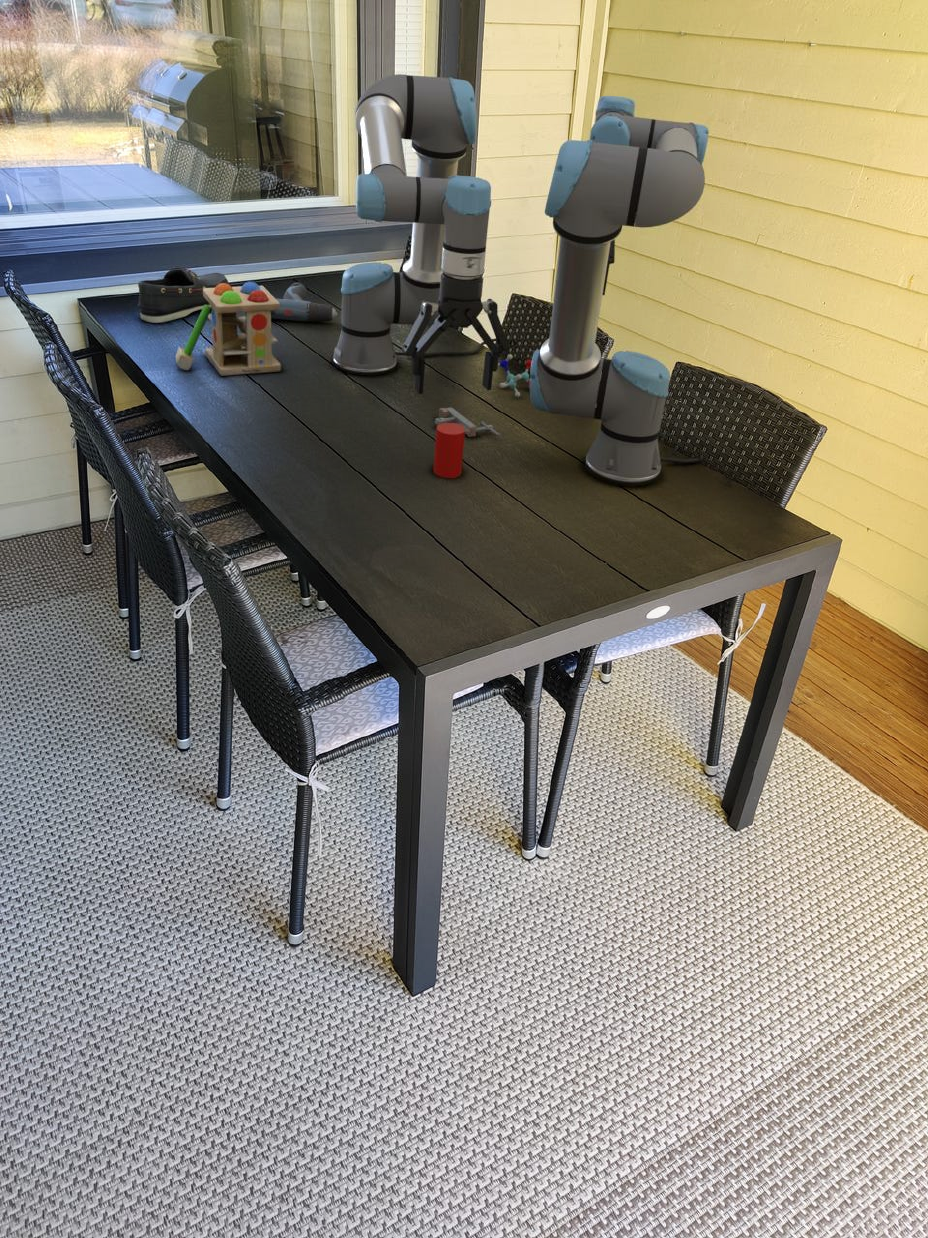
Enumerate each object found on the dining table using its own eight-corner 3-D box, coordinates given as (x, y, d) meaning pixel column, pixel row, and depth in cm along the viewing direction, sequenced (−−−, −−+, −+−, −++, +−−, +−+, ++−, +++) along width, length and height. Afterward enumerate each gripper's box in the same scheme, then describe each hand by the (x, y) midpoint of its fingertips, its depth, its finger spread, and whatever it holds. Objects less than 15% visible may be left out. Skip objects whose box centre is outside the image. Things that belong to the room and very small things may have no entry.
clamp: (427, 409, 212) (467, 404, 217) (426, 419, 213) (466, 413, 218) (461, 437, 202) (502, 430, 206) (460, 447, 203) (501, 440, 208)
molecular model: (537, 389, 224) (523, 346, 222) (499, 403, 227) (485, 361, 226) (549, 388, 234) (536, 347, 233) (513, 401, 238) (500, 361, 237)
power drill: (344, 304, 276) (335, 327, 259) (277, 298, 275) (264, 321, 258) (344, 285, 273) (335, 306, 256) (277, 279, 272) (264, 300, 255)
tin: (436, 463, 196) (439, 420, 191) (463, 468, 195) (467, 425, 190) (430, 475, 191) (433, 431, 186) (458, 479, 191) (462, 436, 186)
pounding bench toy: (183, 379, 220) (176, 299, 210) (169, 357, 231) (162, 280, 221) (282, 371, 230) (280, 294, 220) (264, 350, 240) (262, 276, 230)
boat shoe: (248, 301, 272) (246, 262, 267) (158, 325, 248) (153, 283, 243) (214, 293, 278) (211, 255, 272) (123, 315, 254) (117, 274, 248)
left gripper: (400, 281, 165) (395, 400, 177) (535, 278, 173) (521, 393, 185) (387, 268, 171) (383, 385, 182) (519, 266, 179) (506, 378, 191)
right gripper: (571, 168, 212) (557, 268, 224) (605, 193, 192) (588, 302, 204) (604, 169, 213) (589, 269, 225) (641, 194, 193) (623, 303, 205)
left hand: (453, 389), depth 184 cm, fingers open, 13 cm apart
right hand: (588, 285), depth 214 cm, fingers open, 13 cm apart
